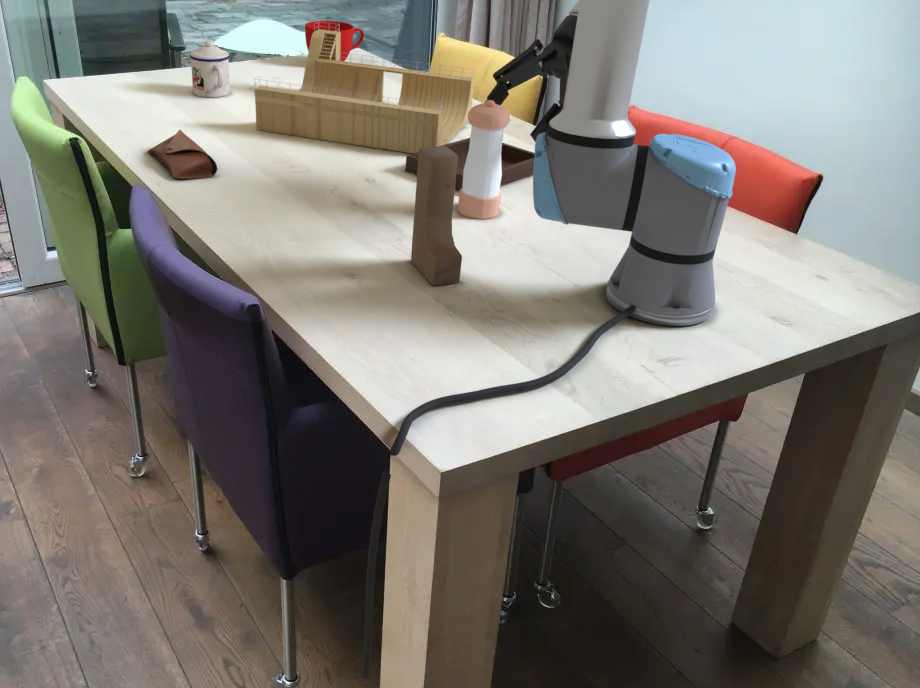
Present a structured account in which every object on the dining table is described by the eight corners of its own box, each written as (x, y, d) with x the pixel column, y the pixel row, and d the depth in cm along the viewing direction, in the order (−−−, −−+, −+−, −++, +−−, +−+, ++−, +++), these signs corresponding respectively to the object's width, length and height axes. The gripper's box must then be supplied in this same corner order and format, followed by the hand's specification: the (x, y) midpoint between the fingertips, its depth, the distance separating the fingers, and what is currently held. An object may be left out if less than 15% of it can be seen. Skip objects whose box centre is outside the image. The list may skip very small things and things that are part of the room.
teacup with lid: (187, 89, 217) (183, 38, 210) (223, 86, 221) (220, 36, 214) (203, 102, 208) (200, 49, 202) (240, 99, 212) (238, 47, 205)
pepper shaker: (449, 209, 160) (459, 98, 149) (478, 200, 164) (490, 92, 153) (478, 222, 155) (491, 109, 145) (507, 213, 159) (521, 102, 149)
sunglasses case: (143, 149, 177) (158, 118, 175) (174, 163, 182) (189, 133, 180) (174, 179, 164) (190, 145, 162) (207, 193, 169) (223, 161, 167)
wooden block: (460, 283, 135) (472, 165, 125) (432, 286, 133) (442, 167, 123) (436, 259, 141) (446, 145, 132) (409, 262, 140) (417, 147, 130)
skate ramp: (255, 134, 193) (252, 56, 184) (318, 91, 221) (318, 21, 212) (435, 161, 183) (441, 80, 174) (477, 113, 211) (484, 41, 202)
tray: (472, 196, 166) (474, 179, 164) (405, 171, 175) (406, 155, 174) (543, 171, 179) (545, 156, 177) (477, 149, 189) (478, 134, 187)
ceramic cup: (374, 67, 244) (375, 28, 239) (318, 72, 237) (318, 32, 231) (351, 56, 254) (352, 18, 248) (296, 61, 246) (296, 22, 241)
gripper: (648, 59, 148) (568, 163, 149) (542, 29, 165) (470, 123, 165) (632, 27, 142) (549, 135, 143) (525, 0, 159) (451, 96, 160)
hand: (507, 129), depth 154 cm, fingers open, 13 cm apart
